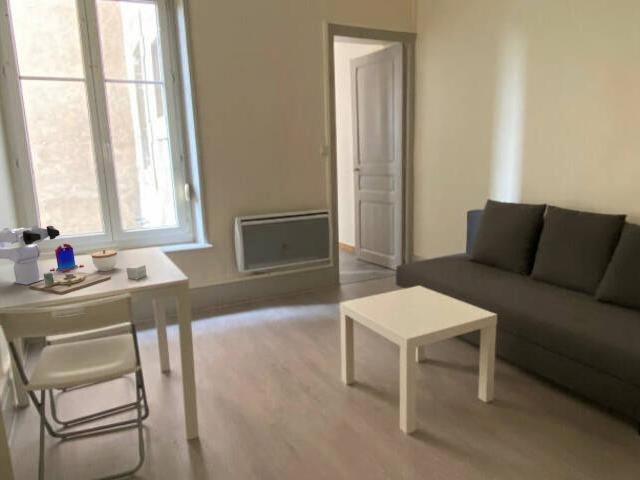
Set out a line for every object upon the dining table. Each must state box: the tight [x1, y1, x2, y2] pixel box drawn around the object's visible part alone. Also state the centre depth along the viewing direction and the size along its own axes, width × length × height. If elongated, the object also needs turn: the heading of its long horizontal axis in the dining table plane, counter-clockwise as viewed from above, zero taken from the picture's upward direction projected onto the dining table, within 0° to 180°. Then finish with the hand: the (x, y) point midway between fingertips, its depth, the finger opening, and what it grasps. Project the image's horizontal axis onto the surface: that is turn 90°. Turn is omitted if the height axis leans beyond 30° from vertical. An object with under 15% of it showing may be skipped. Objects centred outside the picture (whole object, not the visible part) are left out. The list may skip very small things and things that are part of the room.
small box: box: [125, 264, 148, 280], centre depth 196 cm, size 6×6×5 cm
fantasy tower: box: [49, 243, 85, 274], centre depth 215 cm, size 12×12×12 cm
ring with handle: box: [43, 271, 86, 287], centre depth 189 cm, size 15×11×5 cm
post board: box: [27, 271, 112, 295], centre depth 191 cm, size 22×22×4 cm
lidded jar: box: [90, 248, 118, 272], centre depth 211 cm, size 11×11×9 cm
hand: (49, 234), depth 183 cm, fingers open, 7 cm apart
